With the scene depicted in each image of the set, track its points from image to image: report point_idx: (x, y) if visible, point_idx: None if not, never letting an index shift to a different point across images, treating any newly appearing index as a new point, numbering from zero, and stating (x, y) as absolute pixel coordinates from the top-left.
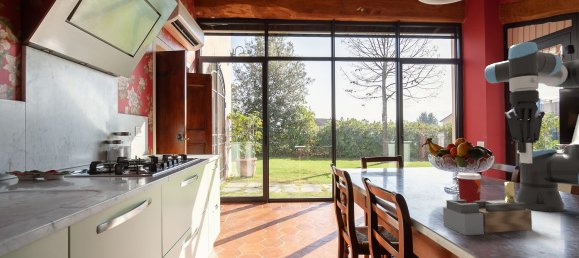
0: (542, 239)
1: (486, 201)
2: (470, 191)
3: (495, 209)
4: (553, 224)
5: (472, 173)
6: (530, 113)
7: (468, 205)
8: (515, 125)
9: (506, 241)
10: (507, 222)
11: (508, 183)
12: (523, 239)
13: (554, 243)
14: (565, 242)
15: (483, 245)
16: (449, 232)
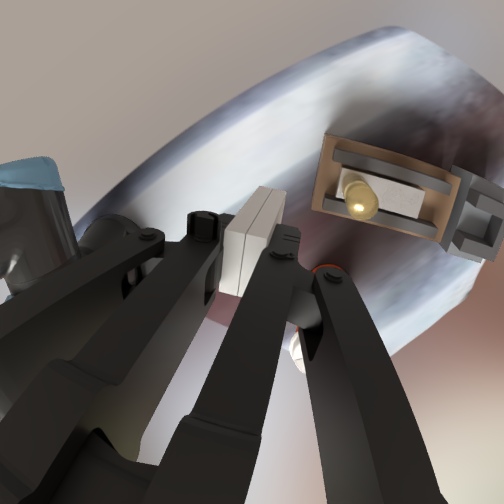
0: (375, 82)
1: (416, 215)
2: None
3: (429, 175)
4: (226, 144)
5: (302, 361)
6: (41, 500)
7: (499, 202)
8: (405, 404)
9: (453, 114)
10: (396, 153)
11: (377, 198)
12: (413, 102)
13: (378, 59)
14: (349, 52)
15: (501, 127)
16: None
